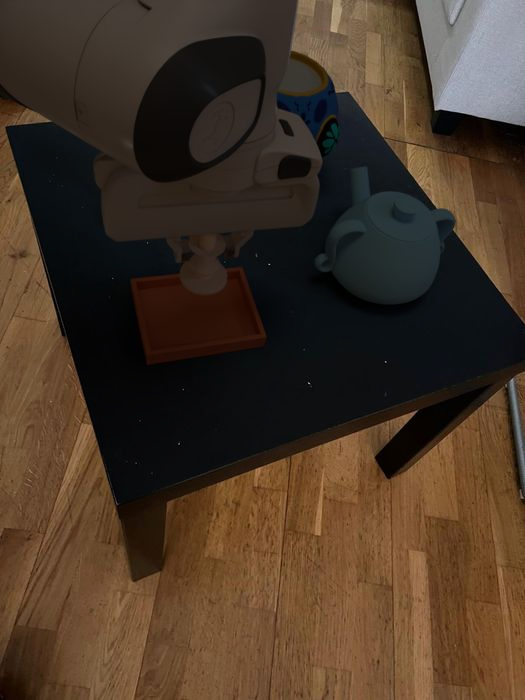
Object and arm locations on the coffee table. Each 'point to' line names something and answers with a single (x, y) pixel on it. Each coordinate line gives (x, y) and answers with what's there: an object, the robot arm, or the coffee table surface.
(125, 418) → the coffee table surface
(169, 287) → the terracotta tray
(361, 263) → the teapot
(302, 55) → the ceramic pot
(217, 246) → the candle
